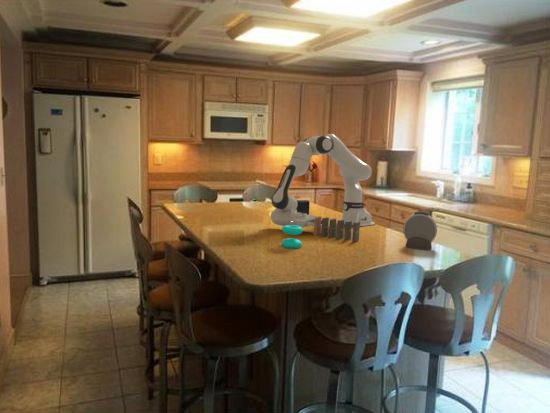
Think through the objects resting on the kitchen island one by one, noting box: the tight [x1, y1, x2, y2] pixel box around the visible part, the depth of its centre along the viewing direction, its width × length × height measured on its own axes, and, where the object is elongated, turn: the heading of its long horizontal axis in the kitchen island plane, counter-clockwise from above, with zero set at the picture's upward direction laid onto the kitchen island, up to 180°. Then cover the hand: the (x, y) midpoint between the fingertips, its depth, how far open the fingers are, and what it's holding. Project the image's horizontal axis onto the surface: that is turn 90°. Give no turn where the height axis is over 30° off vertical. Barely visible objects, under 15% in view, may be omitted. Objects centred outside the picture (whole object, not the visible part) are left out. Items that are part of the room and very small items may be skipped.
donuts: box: [280, 225, 303, 250], centre depth 229 cm, size 10×10×10 cm
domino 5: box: [343, 220, 353, 242], centre depth 251 cm, size 2×5×10 cm, turn 148°
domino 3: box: [328, 217, 337, 239], centre depth 256 cm, size 2×5×10 cm, turn 148°
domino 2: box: [320, 216, 330, 238], centre depth 258 cm, size 2×5×10 cm, turn 148°
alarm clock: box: [402, 210, 438, 251], centre depth 239 cm, size 16×10×18 cm, turn 70°
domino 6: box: [351, 221, 361, 243], centre depth 249 cm, size 2×5×10 cm, turn 148°
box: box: [296, 199, 310, 215], centre depth 325 cm, size 8×6×11 cm
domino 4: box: [335, 218, 345, 240], centre depth 254 cm, size 2×5×10 cm, turn 148°
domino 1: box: [313, 215, 323, 237], centre depth 261 cm, size 2×5×10 cm, turn 148°
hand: (319, 223), depth 260 cm, fingers open, 8 cm apart
